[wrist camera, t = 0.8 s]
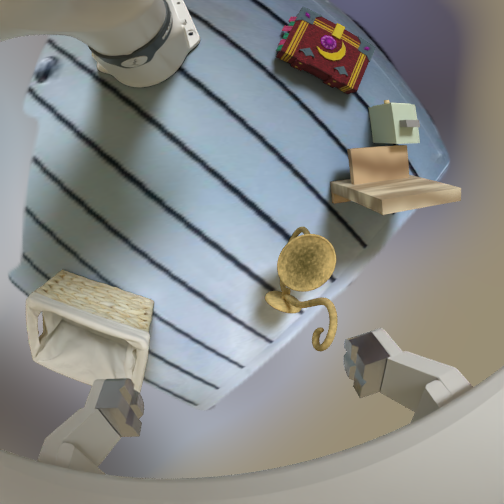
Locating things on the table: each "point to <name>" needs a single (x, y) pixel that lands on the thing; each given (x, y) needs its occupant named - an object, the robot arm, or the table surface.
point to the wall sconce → (305, 278)
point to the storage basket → (89, 329)
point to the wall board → (388, 182)
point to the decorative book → (325, 50)
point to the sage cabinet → (394, 123)
